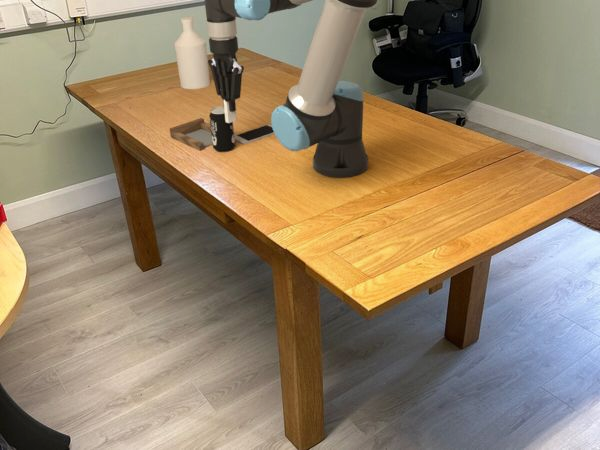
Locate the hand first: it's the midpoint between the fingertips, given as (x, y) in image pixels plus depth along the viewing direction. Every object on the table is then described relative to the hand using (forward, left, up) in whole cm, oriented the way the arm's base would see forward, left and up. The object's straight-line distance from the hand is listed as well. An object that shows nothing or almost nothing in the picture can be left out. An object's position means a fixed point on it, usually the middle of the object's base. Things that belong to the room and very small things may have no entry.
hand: (230, 121), depth 167 cm
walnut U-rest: (+16, 0, -10) cm, 18 cm away
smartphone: (+6, -14, -10) cm, 18 cm away
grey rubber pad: (+16, 0, -10) cm, 18 cm away
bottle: (+64, -31, -10) cm, 71 cm away
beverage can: (+5, 0, -10) cm, 11 cm away
